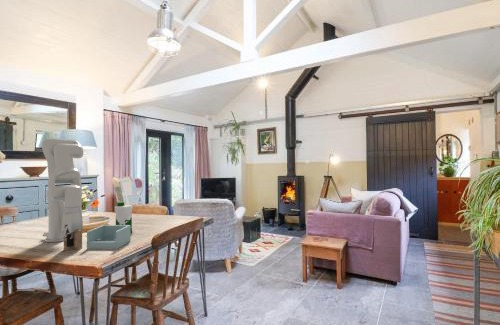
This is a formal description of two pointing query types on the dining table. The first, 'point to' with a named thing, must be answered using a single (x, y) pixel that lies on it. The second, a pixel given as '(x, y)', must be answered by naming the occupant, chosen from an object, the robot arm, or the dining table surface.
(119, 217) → the milk carton
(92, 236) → the teal open bin
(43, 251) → the dining table surface
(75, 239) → the tan upright block
